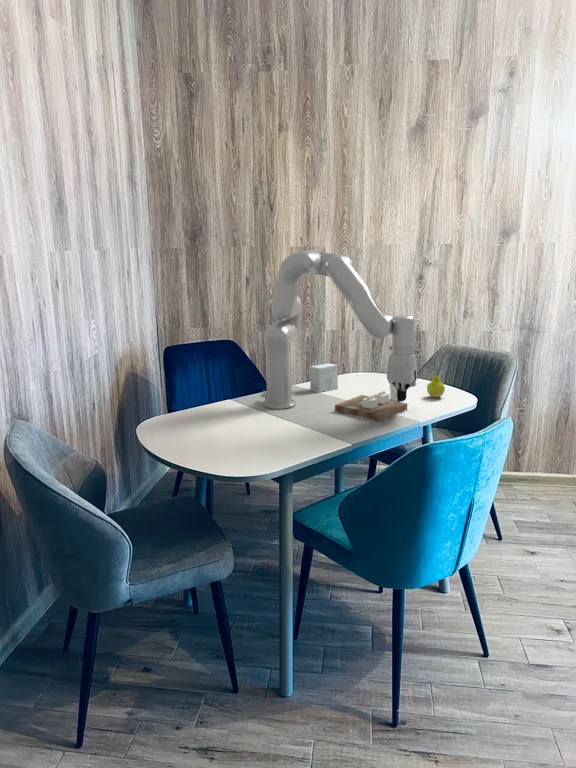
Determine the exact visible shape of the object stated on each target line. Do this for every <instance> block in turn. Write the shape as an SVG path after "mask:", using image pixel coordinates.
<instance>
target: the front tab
mask: <svg viewBox="0 0 576 768" xmlns="http://www.w3.org/2000/svg"><path fill="white" fill-rule="evenodd" d="M362 407H364V408H369V409H373V408H376V407H378V398H374V395H369V397H367V398H364V399H363V401H362Z"/></svg>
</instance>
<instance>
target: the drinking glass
mask: <svg viewBox="0 0 576 768" xmlns="http://www.w3.org/2000/svg"><path fill="white" fill-rule="evenodd" d="M389 400H391V401H396V402H398V401H397V390H396V388H395V386H394V385H393V384H391V383H389Z"/></svg>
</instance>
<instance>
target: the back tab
mask: <svg viewBox="0 0 576 768" xmlns="http://www.w3.org/2000/svg"><path fill="white" fill-rule="evenodd" d="M373 396H374V398H378V403H380V404H385V403H387V402H389V400H390V393H386V391H385V390H383V391H380V392H377V393H375V394H374V395H373Z"/></svg>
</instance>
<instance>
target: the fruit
mask: <svg viewBox="0 0 576 768" xmlns="http://www.w3.org/2000/svg"><path fill="white" fill-rule="evenodd" d="M441 370H442V368H440V369H438V370H437V373H436V375H434V376H433V378H432V380H431V381H430V382H429V383H428V384H427V385H426V390H427V391H426V392H427V393H428V395H429V396H431V397H432V398H436V399H437V398H440V397H442V395H444V393H445V391H446V390H445V389H446V387H445V385H444V383H443V381H441V377H440V376H439V375H438V374H439V372H440V371H441Z"/></svg>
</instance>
